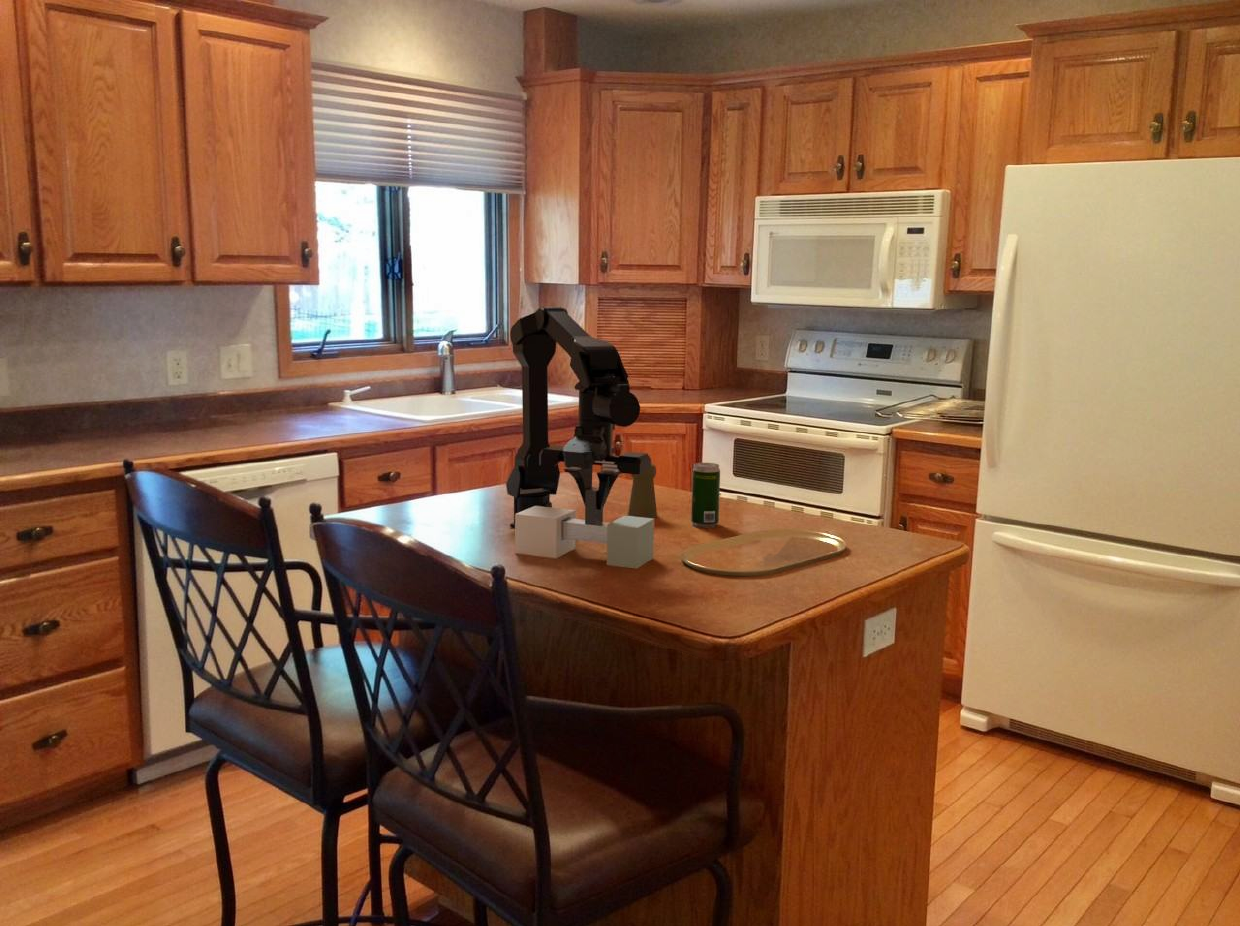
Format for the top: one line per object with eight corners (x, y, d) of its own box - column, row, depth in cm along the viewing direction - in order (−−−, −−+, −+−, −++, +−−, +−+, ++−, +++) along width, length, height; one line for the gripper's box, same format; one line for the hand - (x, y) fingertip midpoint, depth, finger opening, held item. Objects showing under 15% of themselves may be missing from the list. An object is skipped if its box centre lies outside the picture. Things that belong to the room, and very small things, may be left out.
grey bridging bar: (538, 535, 190) (538, 485, 188) (546, 532, 192) (546, 482, 191) (617, 545, 184) (618, 493, 182) (624, 541, 187) (625, 490, 185)
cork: (654, 519, 217) (655, 465, 215) (625, 518, 218) (626, 464, 216) (659, 513, 223) (660, 460, 221) (630, 511, 224) (631, 459, 222)
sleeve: (515, 553, 189) (515, 514, 188) (535, 543, 196) (535, 505, 195) (556, 558, 186) (556, 518, 185) (575, 548, 193) (575, 510, 192)
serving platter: (658, 563, 186) (658, 554, 186) (784, 532, 210) (785, 524, 210) (741, 586, 173) (741, 577, 172) (866, 551, 196) (867, 542, 196)
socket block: (606, 564, 183) (607, 524, 181) (624, 554, 190) (624, 515, 188) (636, 568, 181) (637, 527, 179) (653, 558, 187) (654, 518, 186)
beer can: (723, 526, 212) (725, 466, 210) (699, 528, 210) (701, 468, 207) (709, 520, 217) (711, 461, 215) (686, 523, 214) (687, 463, 212)
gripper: (524, 420, 180) (524, 512, 182) (627, 429, 173) (626, 524, 175) (554, 413, 190) (553, 500, 193) (653, 420, 183) (651, 510, 185)
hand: (594, 508), depth 186 cm, fingers closed on grey bridging bar, 2 cm apart
